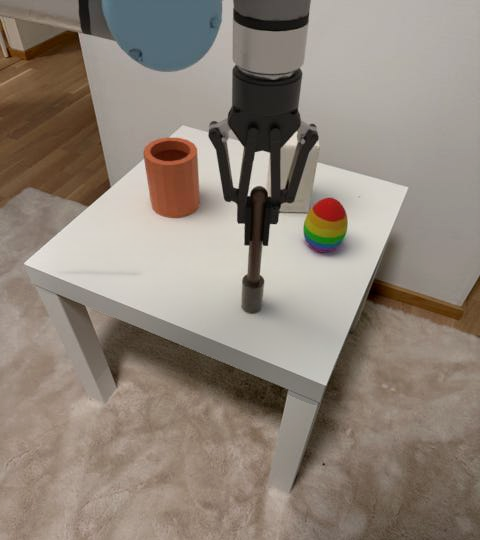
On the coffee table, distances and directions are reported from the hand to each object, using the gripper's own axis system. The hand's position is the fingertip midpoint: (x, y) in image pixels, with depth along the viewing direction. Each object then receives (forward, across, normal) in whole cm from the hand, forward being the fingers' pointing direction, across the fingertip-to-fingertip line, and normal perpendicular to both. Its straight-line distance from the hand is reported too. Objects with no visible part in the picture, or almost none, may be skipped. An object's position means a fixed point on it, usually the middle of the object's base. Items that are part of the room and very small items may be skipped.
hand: (256, 239), depth 65 cm
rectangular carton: (+15, -8, -31) cm, 35 cm away
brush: (+14, 0, 0) cm, 14 cm away
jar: (+14, +16, -29) cm, 36 cm away
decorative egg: (+15, -14, -17) cm, 26 cm away
